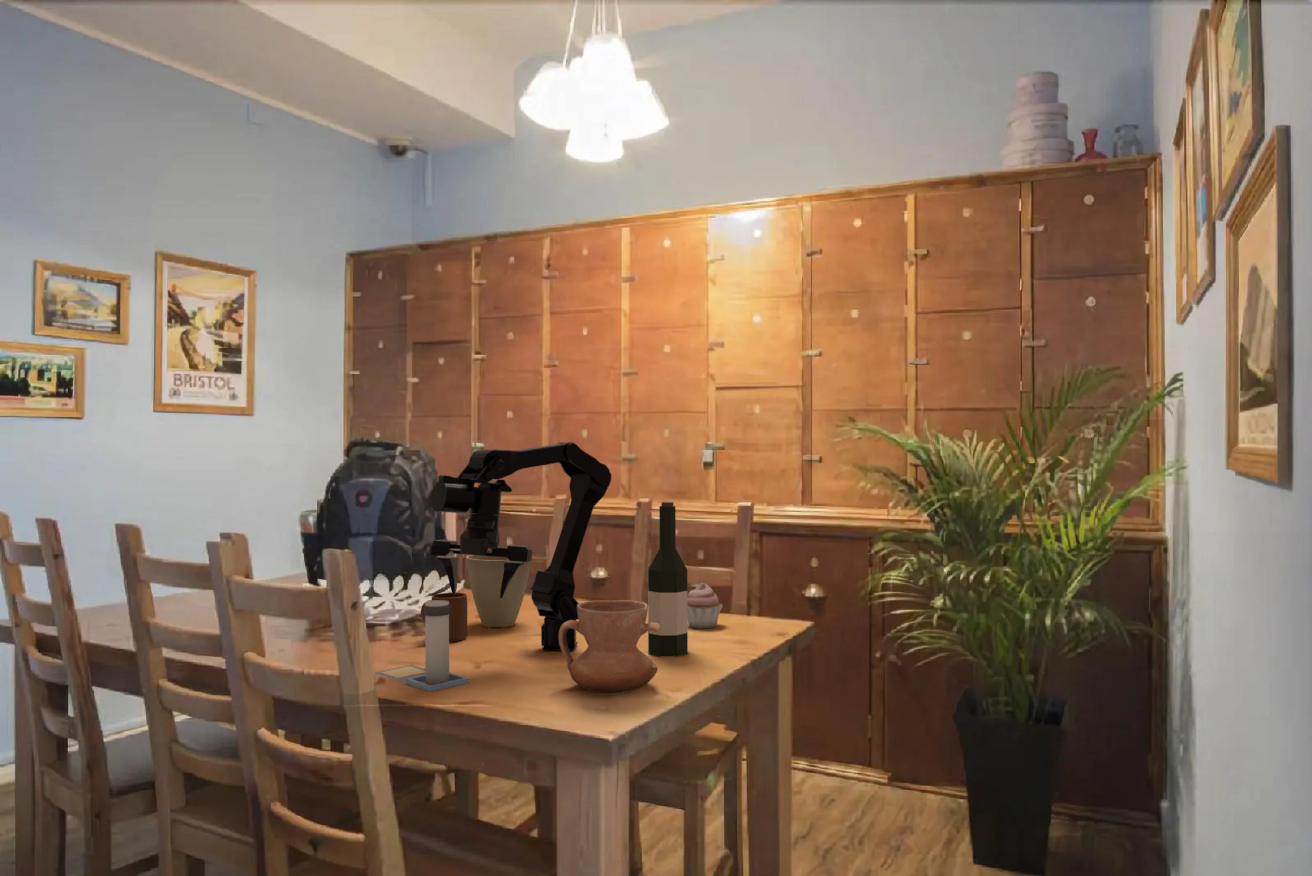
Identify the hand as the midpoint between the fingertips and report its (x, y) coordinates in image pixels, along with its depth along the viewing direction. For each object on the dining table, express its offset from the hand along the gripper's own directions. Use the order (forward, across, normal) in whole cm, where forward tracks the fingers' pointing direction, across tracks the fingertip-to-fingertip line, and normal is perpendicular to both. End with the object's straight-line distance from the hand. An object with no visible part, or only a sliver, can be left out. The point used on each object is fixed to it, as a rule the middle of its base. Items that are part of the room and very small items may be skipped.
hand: (477, 596), depth 172 cm
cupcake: (+7, +44, +37) cm, 58 cm away
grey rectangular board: (+14, -6, -11) cm, 19 cm away
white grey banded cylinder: (+14, -2, -14) cm, 20 cm away
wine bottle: (+10, +37, +11) cm, 39 cm away
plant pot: (+11, -3, +38) cm, 39 cm away
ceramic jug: (+12, +28, -15) cm, 34 cm away
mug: (+12, -12, +21) cm, 27 cm away
